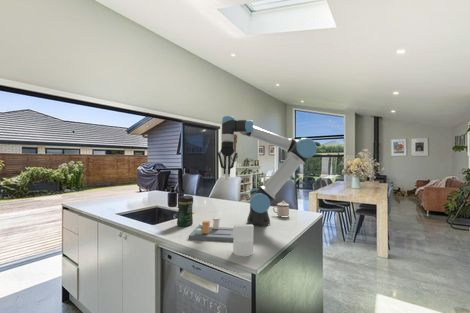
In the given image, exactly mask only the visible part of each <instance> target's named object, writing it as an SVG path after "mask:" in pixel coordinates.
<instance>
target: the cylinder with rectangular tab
mask: <svg viewBox="0 0 470 313" xmlns="http://www.w3.org/2000/svg"><path fill="white" fill-rule="evenodd" d="M233 228H234V236H233V242H232V243H233V244H232V246H233V247H232V248H233V249H232V252H233V254H234V255H236V256H238V257H248V256H251V255H253V254H254V231H255V230H254V225H252V224H248V223H247V224H233Z"/></svg>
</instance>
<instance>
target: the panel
mask: <svg viewBox="0 0 470 313" xmlns="http://www.w3.org/2000/svg"><path fill="white" fill-rule="evenodd" d="M193 229H194V230H192V232H190V233H189V235H188V240H193V241H196V240H197V241H213V242H229V243H233V236H234V227H226V226H225V227H221V226H219V229H213V226H209V233H208V234H205V233H202V227H199V225H198V226H196V227H195V228H193Z"/></svg>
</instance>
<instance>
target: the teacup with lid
mask: <svg viewBox="0 0 470 313" xmlns="http://www.w3.org/2000/svg"><path fill="white" fill-rule="evenodd" d="M275 208H277V209H276V210H275ZM272 211H273V212H274V213H276V214H277V215H278V216H288V215H289V216H290V204H289V203H287V202H286V201H285V200H282V201H281V202H278V203H277V204H276V206H275V205H274V206H273V208H272ZM278 216H277V217H278Z"/></svg>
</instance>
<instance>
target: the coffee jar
mask: <svg viewBox="0 0 470 313" xmlns="http://www.w3.org/2000/svg"><path fill="white" fill-rule="evenodd" d="M193 196H194V195H187V194H186V195H182V196H179V197H178V199H177V204H178V211H177V218H176V219H177V220H176V225H177V226H178V227H181V228H182V227H189V226H192V225H193V222H194V221H193V220H194V219H193V204H194V197H193Z"/></svg>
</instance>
